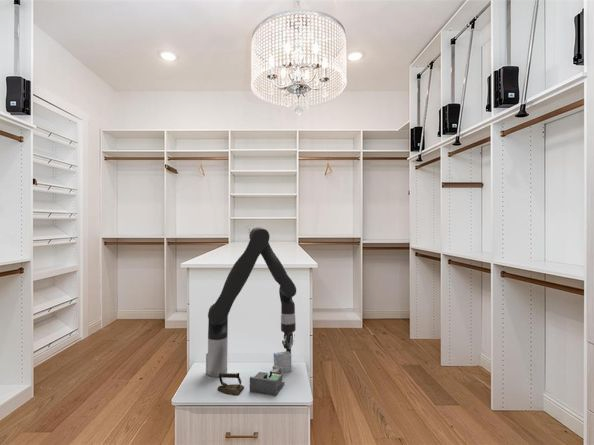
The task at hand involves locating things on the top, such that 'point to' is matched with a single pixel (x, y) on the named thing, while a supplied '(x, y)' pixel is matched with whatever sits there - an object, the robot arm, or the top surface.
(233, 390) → the clothes iron
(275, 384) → the box
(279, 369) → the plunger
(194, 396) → the top surface
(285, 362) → the medicine box
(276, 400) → the top surface
